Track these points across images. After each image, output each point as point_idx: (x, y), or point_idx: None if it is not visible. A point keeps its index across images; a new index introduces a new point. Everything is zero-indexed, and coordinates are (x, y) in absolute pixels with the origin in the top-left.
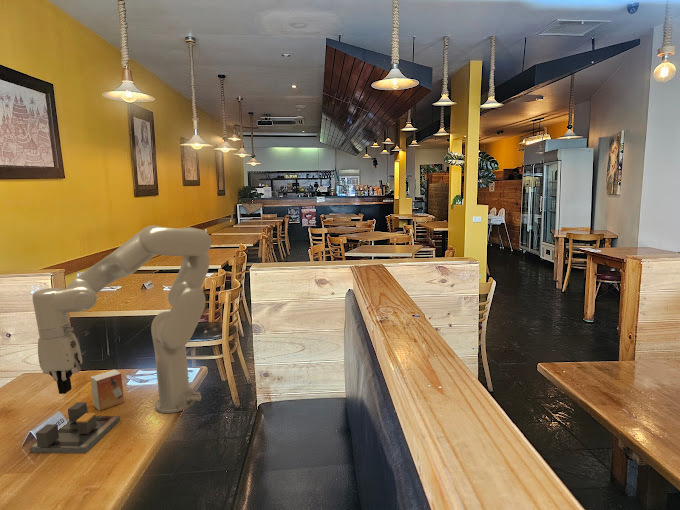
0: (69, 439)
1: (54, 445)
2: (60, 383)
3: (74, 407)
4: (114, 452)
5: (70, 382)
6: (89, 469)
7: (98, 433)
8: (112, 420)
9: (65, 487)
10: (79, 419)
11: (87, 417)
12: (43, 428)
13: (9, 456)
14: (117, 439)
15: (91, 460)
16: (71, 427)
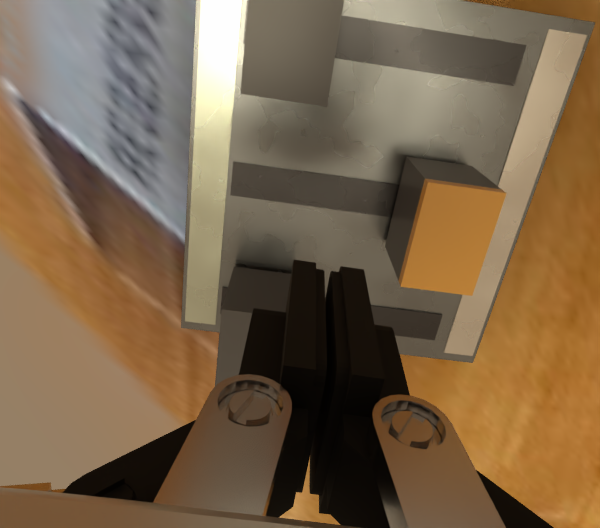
0: None
1: None
2: (310, 474)
3: (286, 67)
4: (596, 354)
5: (401, 372)
6: (516, 443)
7: (501, 244)
8: (554, 92)
9: None
10: (418, 274)
11: (466, 254)
12: (229, 351)
13: (104, 328)
14: (593, 251)
15: (506, 394)
16: (298, 146)
